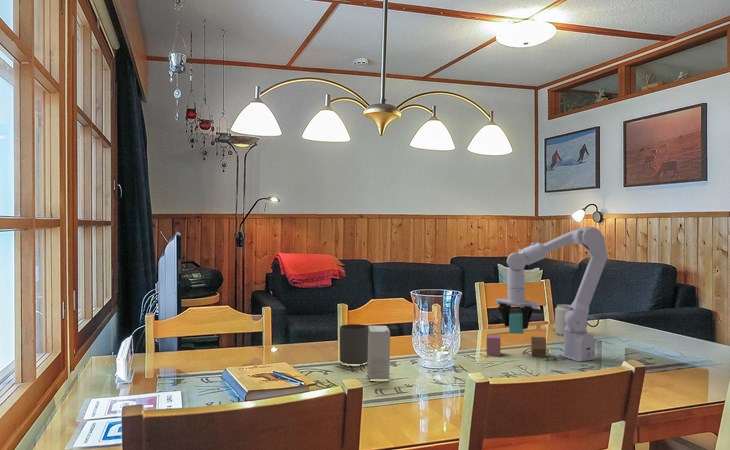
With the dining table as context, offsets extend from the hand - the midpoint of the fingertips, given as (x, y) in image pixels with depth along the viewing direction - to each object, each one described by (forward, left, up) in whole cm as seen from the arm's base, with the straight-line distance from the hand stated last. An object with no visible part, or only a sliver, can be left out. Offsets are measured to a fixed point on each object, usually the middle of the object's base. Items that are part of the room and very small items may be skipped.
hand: (516, 327), depth 192 cm
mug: (+16, +55, -10) cm, 57 cm away
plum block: (+4, +6, -10) cm, 12 cm away
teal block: (0, 0, -2) cm, 2 cm away
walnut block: (-4, -6, -10) cm, 12 cm away
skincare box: (-5, +56, -10) cm, 57 cm away
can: (+19, -40, -10) cm, 46 cm away
